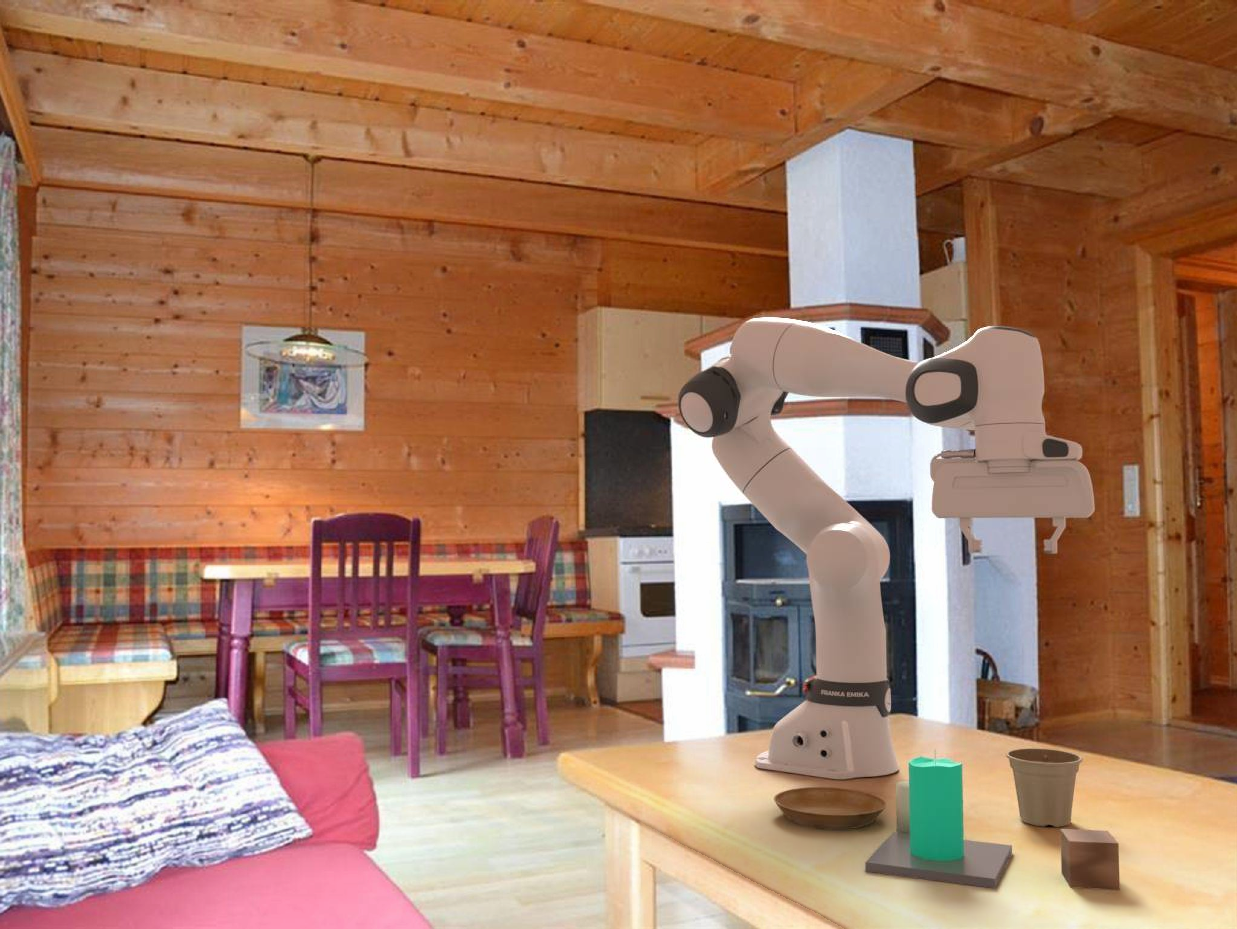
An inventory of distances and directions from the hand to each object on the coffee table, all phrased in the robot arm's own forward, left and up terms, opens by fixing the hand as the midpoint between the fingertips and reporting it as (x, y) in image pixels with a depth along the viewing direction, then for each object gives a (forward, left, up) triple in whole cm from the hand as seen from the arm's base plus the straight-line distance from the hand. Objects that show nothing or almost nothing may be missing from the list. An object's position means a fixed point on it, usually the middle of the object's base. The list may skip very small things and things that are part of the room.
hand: (1012, 553), depth 150 cm
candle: (-6, -21, -34) cm, 41 cm away
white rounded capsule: (-11, -10, -35) cm, 38 cm away
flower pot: (+3, +3, -35) cm, 36 cm away
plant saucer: (-23, -7, -36) cm, 43 cm away
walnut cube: (+10, -21, -35) cm, 42 cm away
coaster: (-6, -21, -35) cm, 41 cm away
